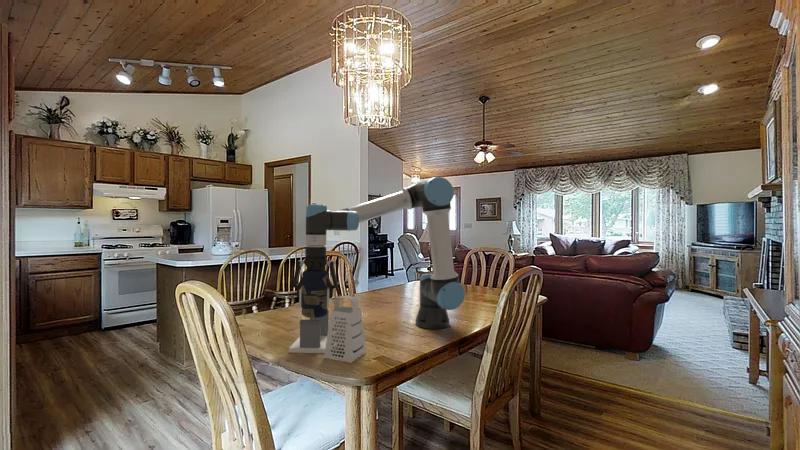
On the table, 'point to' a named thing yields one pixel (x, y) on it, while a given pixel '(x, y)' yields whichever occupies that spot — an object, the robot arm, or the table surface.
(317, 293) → the canister
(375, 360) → the table surface
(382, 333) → the table surface
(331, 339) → the grater
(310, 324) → the napkin holder
